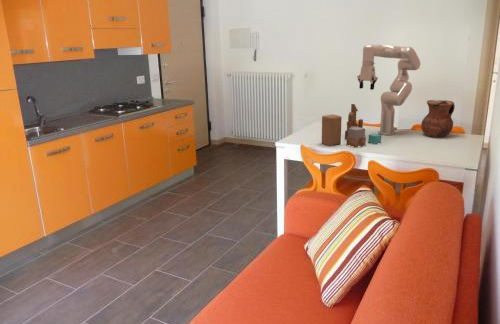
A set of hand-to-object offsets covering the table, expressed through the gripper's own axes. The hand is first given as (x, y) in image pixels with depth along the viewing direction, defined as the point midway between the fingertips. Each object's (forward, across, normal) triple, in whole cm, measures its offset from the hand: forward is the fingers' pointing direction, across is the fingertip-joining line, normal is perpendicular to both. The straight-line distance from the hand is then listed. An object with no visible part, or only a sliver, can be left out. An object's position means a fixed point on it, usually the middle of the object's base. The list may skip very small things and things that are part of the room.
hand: (366, 88), depth 287 cm
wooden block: (+37, +5, +28) cm, 46 cm away
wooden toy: (+36, +7, +3) cm, 37 cm away
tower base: (+36, -9, +18) cm, 42 cm away
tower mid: (+31, -9, +18) cm, 36 cm away
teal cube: (+36, -13, +4) cm, 39 cm away
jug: (+36, -28, -46) cm, 65 cm away
